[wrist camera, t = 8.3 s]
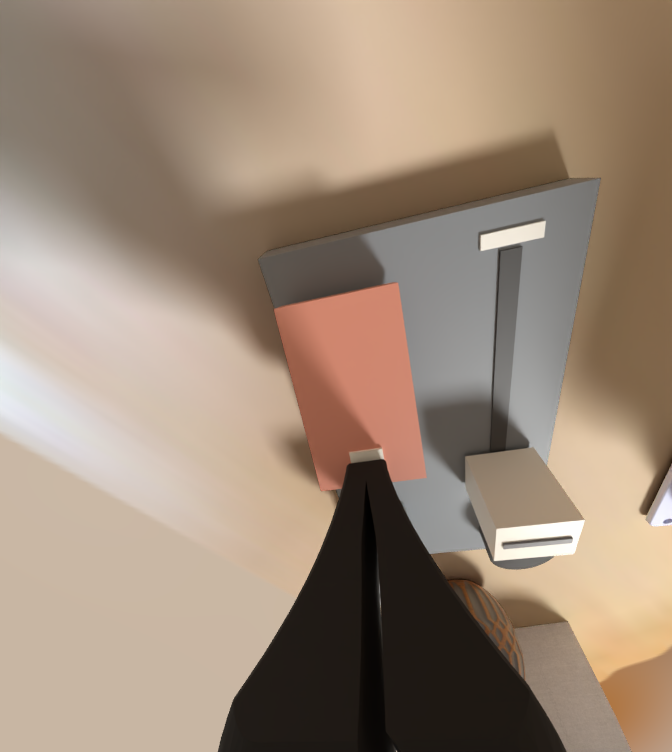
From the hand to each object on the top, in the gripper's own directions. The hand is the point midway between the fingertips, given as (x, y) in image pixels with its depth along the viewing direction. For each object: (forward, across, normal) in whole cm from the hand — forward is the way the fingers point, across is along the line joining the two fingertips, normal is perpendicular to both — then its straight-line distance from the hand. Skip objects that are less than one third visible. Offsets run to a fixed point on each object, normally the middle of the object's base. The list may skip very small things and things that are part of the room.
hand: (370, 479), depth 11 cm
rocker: (+2, 0, -3) cm, 3 cm away
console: (+5, -3, +2) cm, 6 cm away
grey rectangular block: (+5, -11, +31) cm, 34 cm away
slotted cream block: (+3, -6, +4) cm, 8 cm away
